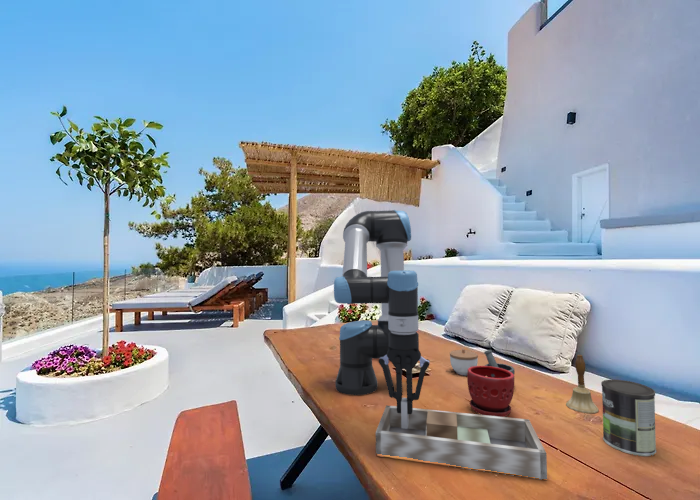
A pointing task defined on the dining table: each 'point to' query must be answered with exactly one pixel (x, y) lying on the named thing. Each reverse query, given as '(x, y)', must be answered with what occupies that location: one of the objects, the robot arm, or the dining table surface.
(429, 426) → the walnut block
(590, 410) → the hand bell
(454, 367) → the lidded jar
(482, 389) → the plant pot
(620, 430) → the coffee can
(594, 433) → the dining table surface
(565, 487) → the dining table surface
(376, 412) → the dining table surface
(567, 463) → the dining table surface
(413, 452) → the box
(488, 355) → the mortar and pestle
